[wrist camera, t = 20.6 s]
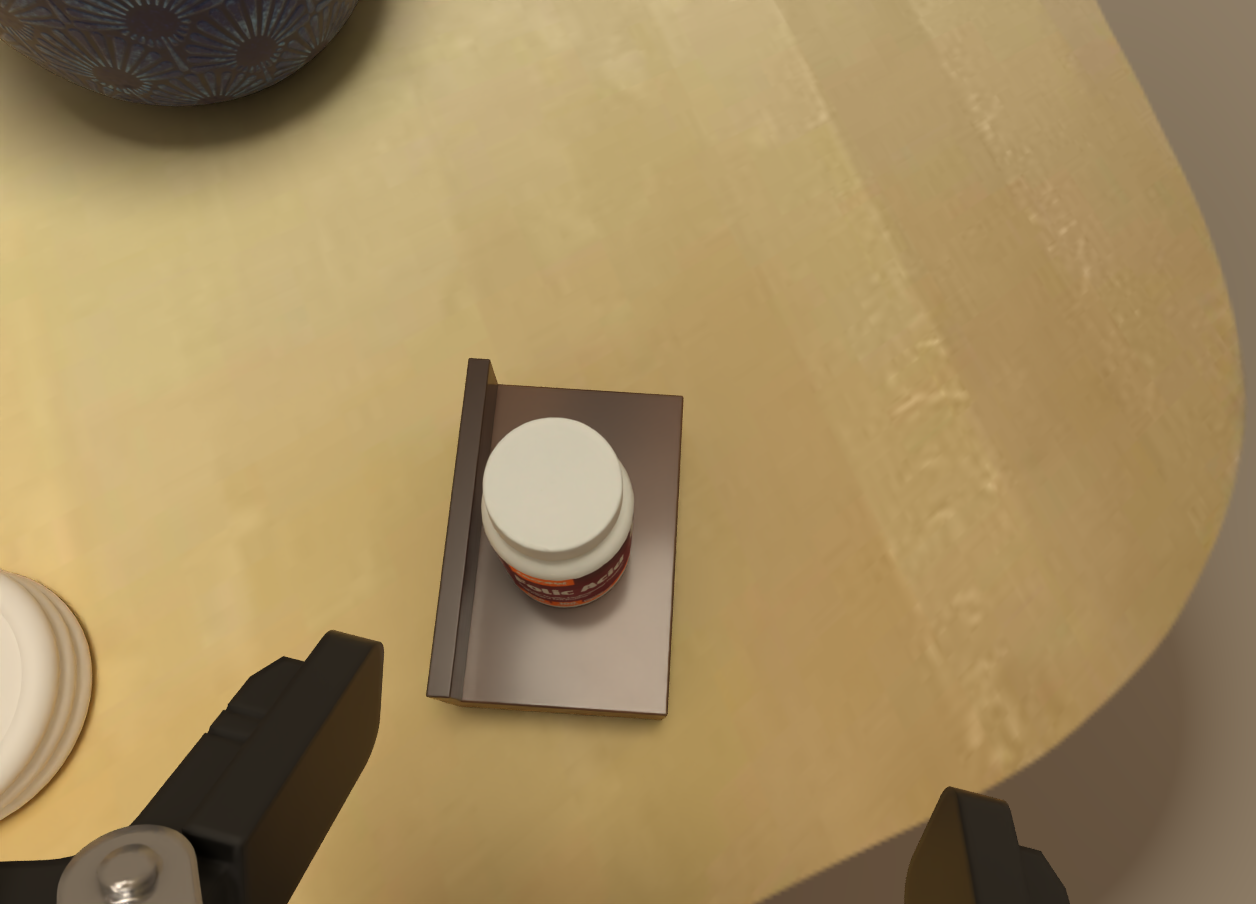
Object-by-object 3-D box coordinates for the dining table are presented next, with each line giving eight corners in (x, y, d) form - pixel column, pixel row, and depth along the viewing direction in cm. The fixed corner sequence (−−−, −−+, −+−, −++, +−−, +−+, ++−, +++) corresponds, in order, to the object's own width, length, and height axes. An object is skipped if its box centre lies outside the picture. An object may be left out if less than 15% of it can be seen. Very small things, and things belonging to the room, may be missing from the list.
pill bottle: (519, 624, 34) (487, 585, 26) (490, 500, 35) (452, 425, 27) (647, 590, 34) (655, 541, 26) (614, 468, 36) (612, 387, 28)
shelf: (677, 429, 40) (688, 371, 34) (662, 720, 37) (671, 713, 31) (491, 417, 40) (468, 357, 34) (457, 706, 37) (425, 696, 31)
